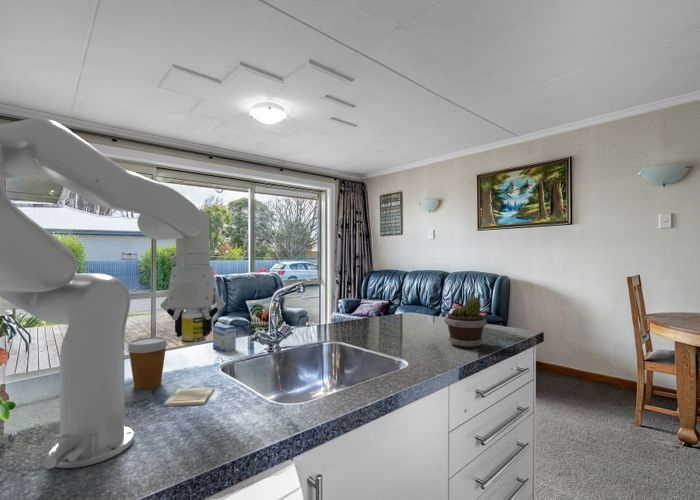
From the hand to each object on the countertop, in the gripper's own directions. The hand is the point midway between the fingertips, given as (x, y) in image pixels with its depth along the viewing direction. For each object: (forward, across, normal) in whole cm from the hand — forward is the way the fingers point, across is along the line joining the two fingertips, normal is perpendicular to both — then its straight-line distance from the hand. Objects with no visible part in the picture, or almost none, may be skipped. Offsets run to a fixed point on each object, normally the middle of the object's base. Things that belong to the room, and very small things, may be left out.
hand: (193, 334), depth 88 cm
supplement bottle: (+2, 0, 0) cm, 2 cm away
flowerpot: (+16, +85, +42) cm, 96 cm away
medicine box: (+16, -5, +46) cm, 49 cm away
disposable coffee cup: (+16, -16, +10) cm, 24 cm away
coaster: (+16, -1, +1) cm, 16 cm away
